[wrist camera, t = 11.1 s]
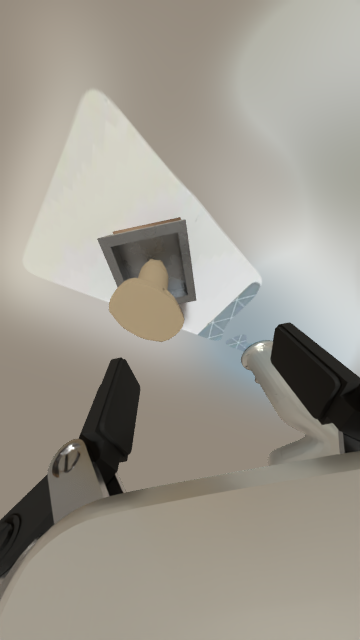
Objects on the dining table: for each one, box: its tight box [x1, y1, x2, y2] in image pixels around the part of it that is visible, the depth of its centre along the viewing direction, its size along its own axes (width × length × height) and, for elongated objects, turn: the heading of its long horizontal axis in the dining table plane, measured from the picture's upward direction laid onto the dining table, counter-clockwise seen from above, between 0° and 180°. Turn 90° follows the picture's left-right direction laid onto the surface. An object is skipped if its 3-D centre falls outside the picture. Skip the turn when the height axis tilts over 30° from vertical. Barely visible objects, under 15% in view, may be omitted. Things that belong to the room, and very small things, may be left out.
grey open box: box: [98, 220, 196, 304], centre depth 25 cm, size 11×11×4 cm
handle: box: [109, 259, 184, 342], centre depth 20 cm, size 5×6×15 cm
